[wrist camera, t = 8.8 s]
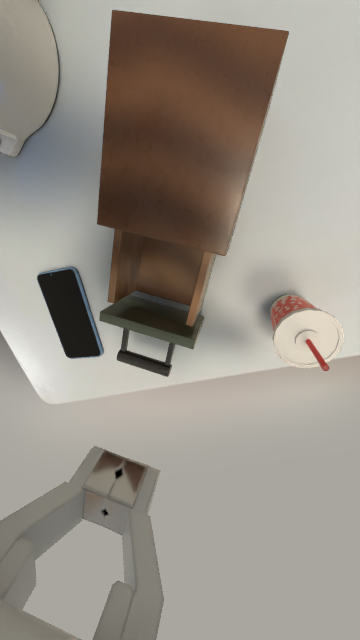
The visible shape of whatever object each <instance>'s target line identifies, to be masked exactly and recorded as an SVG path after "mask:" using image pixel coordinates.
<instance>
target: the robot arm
mask: <svg viewBox="0 0 360 640" xmlns="http://www.w3.org/2000/svg"><path fill="white" fill-rule="evenodd" d="M58 77H59V65H58V54H57V48H56V43H55V39H54V35H53V32H52V29H51V26H50V23H49V21H48V19H47V16H46V14H45V12H44V10H43V9H42V7H41V5H40V4H39V2H38V1H37V0H0V152H1V153H3V154H5V155H7V156H10V157H15V156H17V155H18V153H19V152H20V150H21V148H22V146H23V144H24V142H25V140H26V139H27V138H28V137H29V136H30V135H31V134H32V133H34V132H35V131H36V130H38V129H39V128H40V127H41V126H42V125H43V123H44V122H45V121H46V119H47V118H48V116H49V114H50V112H51V110H52V107H53V105H54V101H55V98H56V93H57V88H58ZM159 474H160V470H158V469H155V468H152V467H149V466H148V465H145V464H142V463H140V462H137V461H134V460H131V459H128V458H125V457H122V456H120V455H117V454H115V453H112V452H109V451H107V450H105V449H102V448H99V447H96V446H94V447H93V448H92V449H91V450H90V452H89V454H88V455H87V456H86V458H85V459H84V461H83V462H82V464H81V465H80V467H79V468H78V470H77V471H76V473H75V474H74V476H73V477H72V479H71V480H70V482H69V483H67V482H64V483H63V484H61V485H59V486H58V487H56V488H54V489H53V490H51V491H49V492H48V493H46V494H44V495H43V496H41V497H39V498H38V499H36V500H34V501H33V502H31V503H29V504H28V505H26V506H24V507H23V508H21V509H19V510H18V511H16V512H14V513H13V514H11V515H9V516H8V517H6V518H4V519H3V520H1V521H0V640H81V639H79V638H77V637H75V636H73V635H71V634H69V633H67V632H65V631H63V630H61V629H59V628H57V627H55V626H53V625H51V624H49V623H47V622H45V621H43V620H41V619H39V618H37V617H35V616H33V615H31V614H29V613H27V612H25V611H23V610H22V609H23V607H24V605H25V603H26V602H27V600H28V598H29V596H30V595H31V593H32V591H33V589H34V587H35V585H36V571H35V560H36V559H37V558H38V557H39V556H41V555H42V554H43V553H44V552H45V551H47V550H48V549H49V548H50V547H51V546H52V545H54V544H55V543H56V542H57V541H58V540H60V539H61V538H62V537H63V536H64V535H66V534H67V533H68V532H69V531H70V530H71V529H73V528H74V527H75V526H76V525H77V524H79V523H80V522H81V521H82V519H85V520H88V521H90V522H93V523H96V524H98V525H101V526H103V527H105V528H108V529H110V530H112V531H115V532H116V533H118V534H120V535H123V536H122V540H123V561H124V581H125V583H122V582H120V581H117V582H116V583H114V584H113V585H112V588H111V591H110V593H109V596H108V599H107V602H106V604H105V607H104V610H103V613H102V615H101V618H100V621H99V624H98V626H97V629H96V632H95V635H94V638H93V640H156V638H157V633H158V627H159V622H160V617H161V612H162V607H163V602H164V597H163V591H162V586H161V580H160V573H159V568H158V561H157V556H156V549H155V543H154V537H153V531H152V525H151V519H150V516H148V512H149V509H150V506H151V503H152V499H153V496H154V492H155V489H156V485H157V481H158V477H159Z"/></svg>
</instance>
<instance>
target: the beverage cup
mask: <svg viewBox="0 0 360 640" xmlns="http://www.w3.org/2000/svg"><path fill="white" fill-rule="evenodd" d="M270 316H271V321H272V326H273V331H274V334H273V343H274V346H275V350H276V353H277V354H278V355H279V356H280V357H281V359H282V360H283V361H285V362H286V363H288V364H290V365H292V366H294V367H301V368H312V367H318V366H321V368H322V369H323V370H324V371H328V370H329V366H328V365H327V362H329V361H331V360H332V359H333V358H334V357H335V356H336V355H337V354H338V353H339V352H340V350H341V348H342V344H343V341H344V334H343V329H342V326H341V325H340V324H339V322H338V321H337V320H336V319H335V317H333V316H332V315H330V314H328V313H326V312H324V311H322V310H320V309H317V308H316V307H314V306H313V305H311V304H310V303H309V302H307V301H306V300H304V299H303V298H301V297H299V296H297V295H291V294H288V295H284V296H281V297H279V298H278V299H277V300H275V301H274V303H273V304H272V306H271V310H270Z"/></svg>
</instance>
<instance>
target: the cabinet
mask: <svg viewBox="0 0 360 640" xmlns="http://www.w3.org/2000/svg"><path fill="white" fill-rule="evenodd" d="M288 34H289V31H283V30H275V29H266V28H258V27H250V26H241V25H233V24H225V23H217V22H208V21H200V20H192V19H183V18H175V17H167V16H159V15H150V14H142V13H134V12H125V11H117V10H112V19H111V33H110V48H109V62H108V76H107V90H106V105H105V119H104V133H103V148H102V162H101V176H100V190H99V205H98V219H97V224H98V225H102V226H106V227H110V228H114V229H118V230H122V231H126V232H130V233H134V234H138V235H142V236H146V237H150V238H154V239H158V240H162V241H166V242H170V243H174V244H178V245H182V246H186V247H190V248H194V249H198V250H202V251H206V252H210V253H214V254H218V255H222V256H225V255H226V254H227V251H228V249H229V246H230V243H231V239H232V236H233V232H234V229H235V225H236V222H237V218H238V215H239V211H240V208H241V204H242V201H243V197H244V194H245V190H246V187H247V183H248V180H249V177H250V173H251V170H252V166H253V163H254V159H255V156H256V152H257V149H258V145H259V142H260V138H261V135H262V131H263V128H264V124H265V121H266V117H267V114H268V110H269V107H270V103H271V99H272V96H273V92H274V88H275V84H276V80H277V76H278V73H279V69H280V65H281V61H282V57H283V54H284V50H285V46H286V42H287V38H288Z"/></svg>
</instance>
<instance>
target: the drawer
mask: <svg viewBox="0 0 360 640" xmlns="http://www.w3.org/2000/svg"><path fill="white" fill-rule="evenodd" d="M215 256H216V254H214V253H210V252H206V251H202V250H198V249H194V248H190V247H186V246H182V245H178V244H174V243H170V242H166V241H162V240H158V239H154V238H150V237H146V236H142V235H138V234H134V233H130V232H126V231H122V230H118V229H115V232H114V242H113V253H112V263H111V273H110V283H109V293H108V302H110V303H113V304H112V305H111V306H109V307H107V308H106V309H104V310H102V311H100V321H103V322H106V323H109V324H112V325H116V326H119V327H122V328H124V330H123V338H122V345H121V349H120V351H119V352H118V355H117V360H118V361H121V362H124V363H127V364H130V365H133V366H136V367H139V368H142V369H145V370H148V371H151V372H154V373H157V374H161V375H164V376H167V377H168V376H169V374H170V371H171V368H172V365H171V364H170V363H171V359H172V355H173V350H174V346H175V344H178V345H181V346H184V347H187V348H191V349H193V348H194V346H195V343H196V340H197V338H198V335H199V332H200V330H201V327H202V324H203V321H204V316H200V315H198V314H199V312H200V310H201V308H202V305H203V301H204V297H205V293H206V290H207V286H208V282H209V279H210V275H211V271H212V267H213V264H214V260H215ZM136 290H137V291H140V292H144V293H147V294H151V295H154V296H158V297H161V298H165V299H168V300H172V301H176V302H179V303H183V304H186V305H190V309H189V312H186V311H183V310H179V309H176V308H172V307H169V306H165V305H162V304H158V303H155V302H151V301H148V300H144V299H141V298H137V297H134V296H130V294H131V293H133V292H135V291H136ZM124 297H125V298H124ZM117 301H118V302H117ZM129 330H132V331H135V332H138V333H142V334H145V335H148V336H151V337H155V338H158V339H161V340H165V341H168V342H170V344H169V348H168V353H167V357H166V361H165V362H162V361H159V360H156V359H153V358H149V357H146V356H143V355H140V354H137V353H134V352H131V351H127V344H128V337H129Z"/></svg>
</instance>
